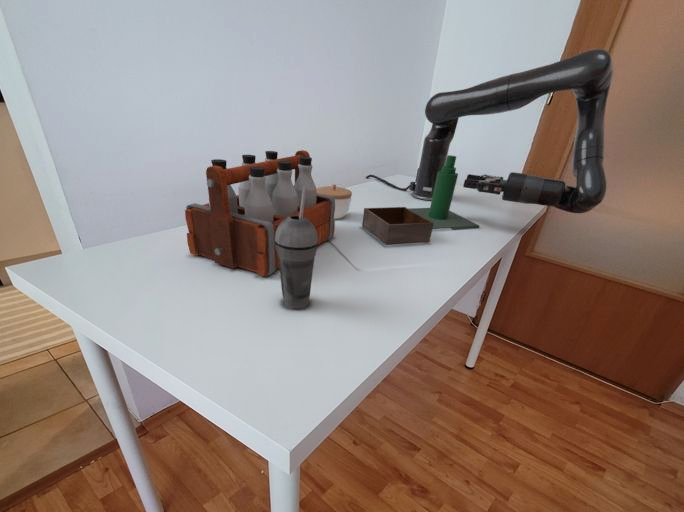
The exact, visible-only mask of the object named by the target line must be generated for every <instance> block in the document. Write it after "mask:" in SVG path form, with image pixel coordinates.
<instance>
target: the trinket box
mask: <svg viewBox="0 0 684 512" xmlns="http://www.w3.org/2000/svg"><path fill="white" fill-rule="evenodd" d="M316 191H317V194H321V195H326V196H331V197H333V198H334V199H335V212H334V219H335V220H340V219H342V218H344V217H345V216H346V215H347V213H348V212H349V210H350V206H351V201H352V196H353V192H352V190H350V189H348V188H345V187H341V186H337V184H332V185H331V186H320V187H319V186H318V187H316Z"/></svg>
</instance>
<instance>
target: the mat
mask: <svg viewBox="0 0 684 512" xmlns="http://www.w3.org/2000/svg"><path fill="white" fill-rule="evenodd" d="M409 209H410V210H411V211H413V212H415V213H417V214H418V215H420V216H422V217H424V218H425V219H427V220H429V221H431V222H432V223H434V224H433V228H432V230H440V229H441V230H443V229H450V230H466V229H467V230H469V229H479V228H480V224H477V223H475V222H474V221H472V220H469V219H467V218H466V217H464V216H462V215H459V214H457V213H455V212H453V211H451V210H449V213H448V217H447V219H445V220H439V219H433V218H431V217H429V216H428V215H429V211H430V207H415V208H413V207H411V208H409Z"/></svg>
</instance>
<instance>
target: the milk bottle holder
mask: <svg viewBox="0 0 684 512" xmlns="http://www.w3.org/2000/svg"><path fill="white" fill-rule="evenodd" d="M264 154H265V158H264V161H259V162H256V158H257V157H256V155H254V154H242V155H241V158H242V163H241V165H239V166H234V167H229V168H228V167H227V163H228V162H227V160H226V159H220V158H219V159H218V158H216V159H214V158H213V159H211V162H210V163H211V166H208V167H207V168H206V169H205V175H206V185H207V192H208V202H207V203H204V204H199V203H195V202H194V203H190V204H188V205H186V207H185V208H186V209H184V214H185V216H184V217H185V222H186V226H187V230H188V231H187V233H186V240H187V246H188V250H189V254H191V255H194V256H196V255H199V256H203V257H206V258H208V259H212V260H213V261H214V264H217V265H221V266H224V267H227V268H231V269H235V268H237V267H238V268H241V269H244V270H248V271H251V272H253V273H257V275H258V276H261V277H265V276H266V277H267V276H270V275H272V274H273V273H275V271H276V270H277V269H280V268H279V259H278V254H277V250H276V244H275V242H274V240H275V235H276V231H277V228H278V226H279V225H280V223H281V222H282V221H283V220H284V219H286V218H287V217H290V216H294V215H297V216H299V215H300V208H301V200H302V192H303V187H306V195H305V203H304V210H303V217H305V218H306V219H308V220H309V221H310V222H311V223H312V224H313V226H314V228H315V230H316V232H317V237H318V246H319V245H320V244H322V243H324V242H328V241H330V240H332V239H333V237H334V235H335V229H336V225H335V223H336V222H335V221H336V219H334V212H335V199H334V198H333V197H331V196H326V195H321V194H317V191H316V189H317V186H316V183H315V181H314V179H313V177H312V170H313V165H312V161H313V158H312V157H311V156H310V153H309V152H308V150H297V151H295V154H294V155H291V156H286V157H285V156H284V157H281V158H278V155H279V152H278V151H273V150H266V151H265V153H264ZM293 170H294V184H293V180H292V175H293ZM235 184H238V188H237V189H238V191H237V192H238V194H236V191H235V190H234V188H233V187H232V185H235Z"/></svg>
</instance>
